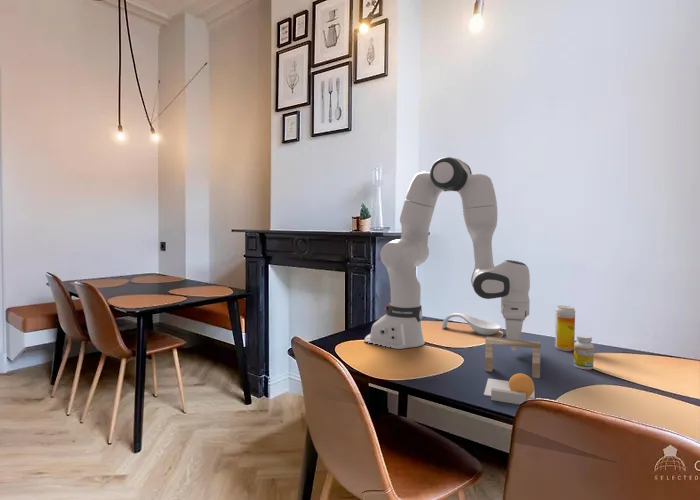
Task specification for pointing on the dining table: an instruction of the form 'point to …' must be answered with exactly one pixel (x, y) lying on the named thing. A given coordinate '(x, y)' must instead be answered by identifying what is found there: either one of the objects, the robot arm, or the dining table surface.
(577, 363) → the supplement bottle
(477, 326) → the spoon rest
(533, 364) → the bridge
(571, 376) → the dining table surface
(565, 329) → the orange yellow canister
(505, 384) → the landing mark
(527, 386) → the ball
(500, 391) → the block
